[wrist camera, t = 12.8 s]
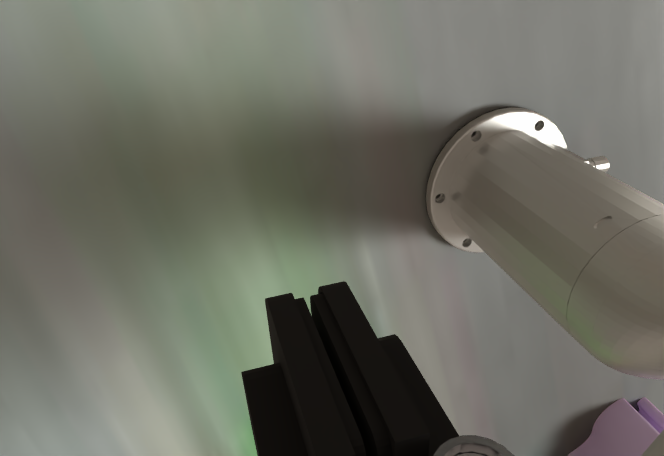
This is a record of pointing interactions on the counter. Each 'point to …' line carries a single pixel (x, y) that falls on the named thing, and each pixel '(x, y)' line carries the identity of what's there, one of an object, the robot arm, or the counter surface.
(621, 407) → the clip
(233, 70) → the counter surface
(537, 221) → the robot arm
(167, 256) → the counter surface
